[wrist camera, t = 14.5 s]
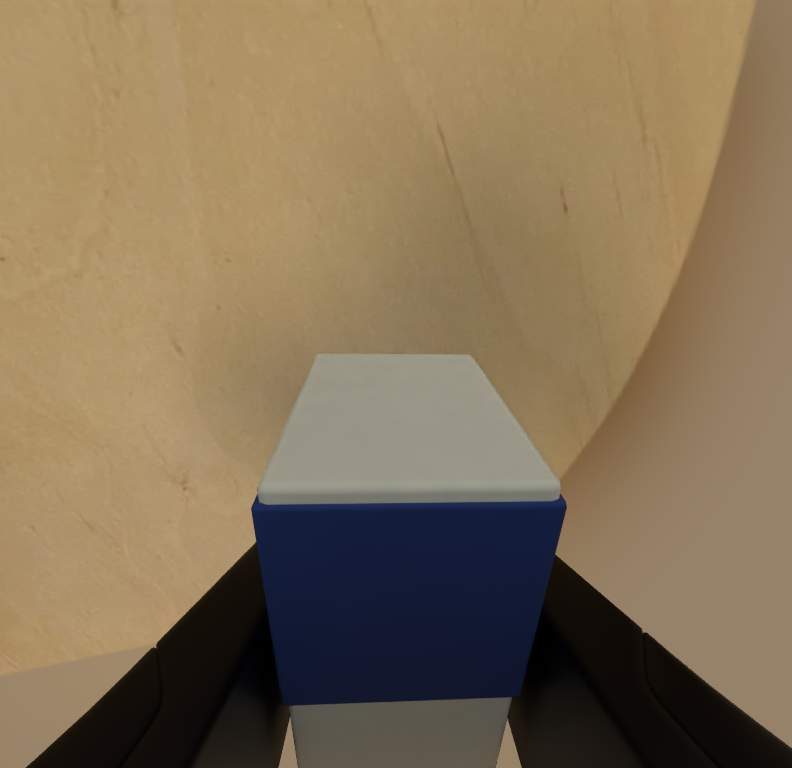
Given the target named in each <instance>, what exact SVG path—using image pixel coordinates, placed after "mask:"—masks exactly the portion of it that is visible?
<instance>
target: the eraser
mask: <svg viewBox="0 0 792 768" xmlns="http://www.w3.org/2000/svg"><path fill="white" fill-rule="evenodd" d="M257 491H258V494H257V496H256V498H255V501H254V503H253V505H252V508H251V510H252V517H253V523H254V529H255V536H256V542H257V548H258V555H259V561H260V568H261V574H262V580H263V587H264V593H265V599H266V606H267V612H268V618H269V625H270V631H271V638H272V644H273V650H274V657H275V663H276V669H277V676H278V682H279V688H280V695H281V701H282V704H283V705H285V706H289V710H290V717H291V724H292V731H293V738H294V744H295V751H296V758H297V765H298V768H496V764H497V759H498V755H499V751H500V747H501V742H502V738H503V734H504V729H505V725H506V721H507V717H508V713H509V708H510V704H511V700H512V697H518V696H519V695H520V693H521V689H522V685H523V681H524V677H525V673H526V669H527V665H528V661H529V657H530V653H531V649H532V645H533V641H534V637H535V633H536V629H537V625H538V621H539V617H540V613H541V609H542V605H543V601H544V597H545V593H546V589H547V585H548V581H549V577H550V572H551V568H552V564H553V560H554V556H555V552H556V548H557V544H558V540H559V536H560V532H561V528H562V524H563V520H564V516H565V512H566V508H567V506H566V502H565V500H564V498H563V497H562V495H561V494H560V492H561V486H560V482H559V479H558V478H557V477H556V475H555V474H554V472H553V471H552V469H551V468H550V467H549V465H548V464H547V462H546V461H545V459H544V458H543V457H542V455H541V454H540V452H539V451H538V449H537V448H536V446H535V445H534V444H533V442H532V441H531V439H530V438H529V436H528V435H527V434H526V432H525V431H524V429H523V428H522V426H521V425H520V424H519V422H518V421H517V419H516V418H515V416H514V415H513V414H512V412H511V411H510V409H509V408H508V406H507V405H506V404H505V402H504V401H503V399H502V398H501V396H500V395H499V394H498V392H497V391H496V389H495V388H494V386H493V385H492V383H491V382H490V381H489V379H488V378H487V376H486V375H485V373H484V372H483V371H482V369H481V368H480V366H479V365H478V363H477V362H476V361H475V359H474V358H473V356H471V355H443V354H318V355H317V356H316V358H315V360H314V362H313V365H312V367H311V369H310V371H309V373H308V376H307V378H306V380H305V382H304V385H303V387H302V389H301V391H300V394H299V396H298V398H297V400H296V403H295V405H294V407H293V409H292V411H291V414H290V416H289V418H288V420H287V423H286V425H285V427H284V429H283V432H282V434H281V436H280V438H279V441H278V443H277V445H276V447H275V450H274V452H273V454H272V456H271V458H270V461H269V463H268V465H267V467H266V470H265V472H264V474H263V476H262V479H261V481H260V483H259V486H258V488H257Z"/></svg>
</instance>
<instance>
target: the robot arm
mask: <svg viewBox="0 0 792 768" xmlns="http://www.w3.org/2000/svg"><path fill="white" fill-rule="evenodd" d="M156 647H157V649H156V648H151V649H150V650H149V651H148V652H147V653H146V654H145V655H144V656H143V657H142V658H141V659H140V660H139V661H138V662H137V663H136V665H134V666H133V667H132V669H131V670H130V671H128V673H126V675H124V677H122V678H121V679H120V680H119V681H118V682H117V683H116V684H115V685H114V686H113V687H112V688H111V689H110V690H109V691H108V692H107V693H106V694H105V695H104V696H103V697H102V698H101V699H100V700H99V701H98V702H97V703H96V704H95V705H94V706H93V707H92V708H91V709H90V710H89V711H88V712H86V713H85V714H84V715H83V716H82V717H81V718H80V719H79V720H78V721H77V722H76V723H74V724H73V725H72V726H71V727H70V728H69V729H68V730H67V731H66V732H65V733H63V734H62V735H61V736H60V737H59V738H58V739H57V740H56V741H55V742H54V743H53V744H51V745H50V746H49V747H48V748H47V749H46V750H45V751H44V752H43V753H42V754H40V755H39V756H38V757H37V758H36V759H35V760H34V761H33V762H31V763H30V765H28V766H27V767H26V768H278V766H279V763H280V758H281V754H282V749H283V745H284V740H285V736H286V732H287V727H288V723H289V719H290V710H289V706H285V705H283V704H282V701H281V695H280V688H279V682H278V676H277V669H276V663H275V657H274V650H273V644H272V638H271V631H270V625H269V618H268V612H267V606H266V599H265V593H264V587H263V580H262V574H261V568H260V561H259V555H258V548H257V542H256V543H255V544H254V545H253V546H252V547H251V548H250V549H249V550H248V551H247V552H246V553H245V554H244V555H243V556H242V557H241V558H240V559H239V560H238V561H237V562H236V563H235V564H234V565H233V566H232V567H231V568H230V569H229V570H228V571H227V572H226V573H225V574H224V575H223V576H222V577H221V578H220V579H219V580H218V581H217V582H216V583H215V584H214V585H213V587H212V588H211V589H210V590H209V591H208V592H207V593H206V594H205V595H204V596H203V597H202V598H201V599H200V600H199V601H198V602H197V603H196V604H195V605H194V606H193V607H192V608H191V609H190V610H189V611H188V612H187V613H186V614H185V615H184V616H183V617H182V618H181V619H180V620H179V621H178V622H177V623H176V624H175V625H174V626H173V627H172V628H171V629H170V630H169V631H168V632H167V633H166V634H165V635H164V636H163V637H162V638H161V639H160V640H159V641H158V642H157V644H156ZM507 718H508V721H509V724H510V728H511V732H512V735H513V739H514V742H515V746H516V749H517V752H518V756H519V759H520V763H521V766H522V768H792V748H790V747H789V746H788V745H787V744H785V743H784V742H783V741H781V740H780V739H779V738H777V737H776V736H775V735H773V734H772V733H771V732H769V731H768V730H767V729H765V728H764V727H763V726H761V725H760V724H759V723H757V722H756V721H755V720H754V719H753V718H751V717H750V716H749V715H747V714H746V713H745V712H743V711H742V710H741V709H740V708H738V707H737V706H736V705H734V704H733V703H732V702H730V701H729V700H728V699H727V698H725V697H724V696H723V695H722V694H720V693H719V692H718V691H716V690H715V689H714V688H713V687H711V686H710V685H709V684H708V683H706V682H705V681H704V680H703V679H702V678H700V677H699V676H698V675H696V673H694V672H693V671H692V670H691V669H689V668H688V667H687V666H686V665H685V664H683V663H682V662H681V661H680V660H679V659H677V658H676V657H675V656H674V655H672V654H671V653H670V652H669V651H668V650H667V649H665V648H664V647H663V646H662V645H661V644H659V643H658V642H657V641H656V640H655V639H654V638H652V637H651V636H650V635H649V634H648V633H643V632H642V629H641V628H640V627H639V626H638V625H637V624H636V623H635V622H634V621H632V620H631V619H630V618H629V617H628V616H627V615H625V614H624V613H623V612H622V611H621V610H619V609H618V608H617V607H616V606H615V605H614V604H612V603H611V602H610V601H609V600H608V599H606V598H605V597H604V596H603V595H602V594H601V593H600V592H598V591H597V590H596V589H595V588H594V587H593V586H591V585H590V584H589V583H588V582H587V581H585V580H584V579H583V578H582V577H581V576H580V575H579V574H577V573H576V572H575V571H574V570H573V569H572V568H570V567H569V566H568V565H567V564H566V563H565V562H563V561H562V560H561V559H560V558H559V557H557V556H556V555H555V556H554V560H553V564H552V568H551V572H550V577H549V581H548V585H547V589H546V593H545V597H544V601H543V605H542V609H541V613H540V617H539V621H538V625H537V629H536V633H535V637H534V641H533V645H532V649H531V653H530V657H529V661H528V665H527V669H526V673H525V677H524V681H523V685H522V689H521V693H520V695H519V696H518V697H512V700H511V704H510V708H509V713H508V717H507Z"/></svg>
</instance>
